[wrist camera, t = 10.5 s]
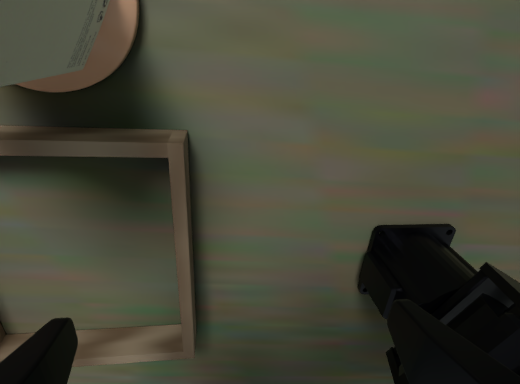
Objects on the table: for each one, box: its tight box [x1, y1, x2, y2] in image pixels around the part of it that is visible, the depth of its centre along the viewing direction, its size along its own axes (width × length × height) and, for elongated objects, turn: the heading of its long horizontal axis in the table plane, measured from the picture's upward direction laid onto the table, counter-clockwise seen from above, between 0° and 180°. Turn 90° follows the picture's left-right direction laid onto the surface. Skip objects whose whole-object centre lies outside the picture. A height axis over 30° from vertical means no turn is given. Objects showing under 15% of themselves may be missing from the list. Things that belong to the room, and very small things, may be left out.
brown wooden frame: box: [0, 125, 197, 367], centre depth 20 cm, size 15×17×2 cm
